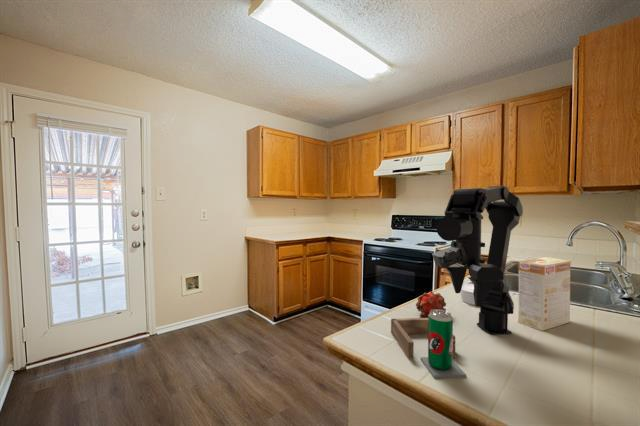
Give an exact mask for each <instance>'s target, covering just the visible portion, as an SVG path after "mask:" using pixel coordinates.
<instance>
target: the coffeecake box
mask: <svg viewBox="0 0 640 426" xmlns="http://www.w3.org/2000/svg"><path fill="white" fill-rule="evenodd" d="M570 310H571V260H568V259H561V258H556V257H549V256H543V257H538V258H531V259H525V260H518V314H517V315H518V317H517V318H518V321H517V323H519V324H521V325H525V326H528V327H530V328H533V329H536V330H538V331H541V332H544V331H546V330H549V329H552V328H556V327H559V326H562V325H565V324H568V323H571V319H570V316H571V315H570V314H571V311H570Z"/></svg>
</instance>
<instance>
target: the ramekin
mask: <svg viewBox="0 0 640 426" xmlns="http://www.w3.org/2000/svg"><path fill="white" fill-rule="evenodd" d="M473 292H474V284H473V283H471V284H469V283H468V284H467V283H466V284H465V283H464V284H463V285H462V289H461V291H460V293H459V294H460V298H461V300H462V302H464V303H465V304H468V305H472V306H475V300H474V294H473Z"/></svg>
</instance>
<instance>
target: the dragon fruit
mask: <svg viewBox="0 0 640 426" xmlns="http://www.w3.org/2000/svg"><path fill="white" fill-rule="evenodd" d="M446 306H447V302H446V301H445V297H444V296H442V295H441V293H439V292H437V293H434V292H433V291H432V290H430V291H429V293H428V292H424V293H423V294H421V295H420V296H418V297H417V303H416V304H415V307H416V309H417V311H418V312H420V316H421V317H428V315H429V314H430V311H431V310H433V309H441V310H445V311H447V309H446Z"/></svg>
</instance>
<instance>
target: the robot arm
mask: <svg viewBox="0 0 640 426" xmlns="http://www.w3.org/2000/svg"><path fill="white" fill-rule="evenodd" d="M500 200H501V201H500ZM502 200H503V201H502ZM485 210H486V213H487V214H488V220H489V222H490V223H491V226H492V231H491V236H490V243H489V250H488V255H487V260H485V259H484V258H482V248H485V247H486V242H482V220H484V216H483V215H482V213H484V211H485ZM523 212H524V209H523V205H522V202H521V200H520V198H519V197H518V196H517V195H515V194H513V193H512V192H510V190H509V188H508V186H505V185H493V186H489V187H485V188H484V187H473V188H470V187H469V188H456V189H454V190H453V193H451V195H450V198H449V200H448V202H447V205H446V208H445V210H444V217H441V219H440V220H439V221H438V222H437V225H436V232H437V235H438V236H439V237H440V238H441V239H442V240H444V241H447V242H450V247H447V248H442V249H440V250H437V251H435V252H432V253H431V255H432V258H433V261H434V263H435V266H436V267H440V269H445V270H446V271H447V272H448V274H449V277H450V280H451V283H452V286H453V287H452V288H453V290H454V292H455V293H456V294H460V291H461V289H462V285H464V282H465V279H466V278H465V277H466V274H467V271H468V274H469V277H468V276H467V278H468V279H469V281H470V282H471V284H473V285H474V292H473V294H474V300H475V305H474V306H475V307H476V308H477V307H478V308H480V310H479V311H478V322H477V323H476V325H477V326H478V327H479V328H480V329H482V330H483V331H485V332H486V333H488V334H489V335H512V334H513V333H512V330H509V328H508V325H509V324H508V319H509V318H508V315H513V314H514V308H515V304H514V301H513V298H512V296H511V294H510V288H509V286H508V284H507V281H506V279H505V271H506V266H507V259H508V253H509V246H510V240H511V239H510V238H511V234H512V231H513V230H514V229H515V228H516V227H517V226H518V225H519V224H520V220H521V217H522V215H523ZM486 261H487V262H486Z"/></svg>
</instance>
